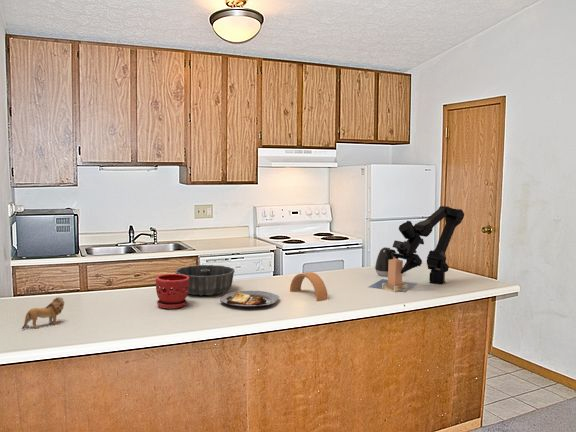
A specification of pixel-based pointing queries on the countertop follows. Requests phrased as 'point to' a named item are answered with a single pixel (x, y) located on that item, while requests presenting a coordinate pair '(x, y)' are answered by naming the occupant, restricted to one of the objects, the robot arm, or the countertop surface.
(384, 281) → the board
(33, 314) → the lion figurine
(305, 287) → the countertop surface
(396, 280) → the terracotta column
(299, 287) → the arch
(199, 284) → the bundt pan
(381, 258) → the black tapered dome
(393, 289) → the maple socket block
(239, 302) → the food plate
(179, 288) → the plant pot
